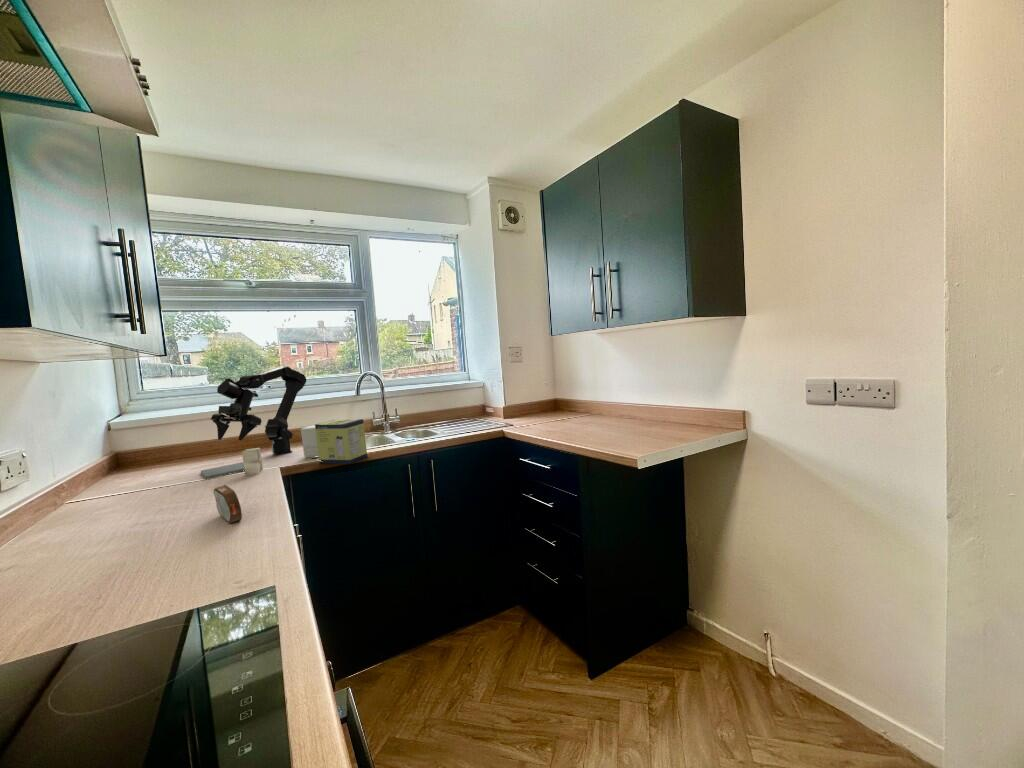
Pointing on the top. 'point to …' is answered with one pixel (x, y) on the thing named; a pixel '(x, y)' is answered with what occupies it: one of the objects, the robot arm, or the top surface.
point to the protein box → (341, 441)
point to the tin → (227, 504)
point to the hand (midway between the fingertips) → (229, 440)
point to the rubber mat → (223, 470)
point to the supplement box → (309, 441)
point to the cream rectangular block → (252, 461)
